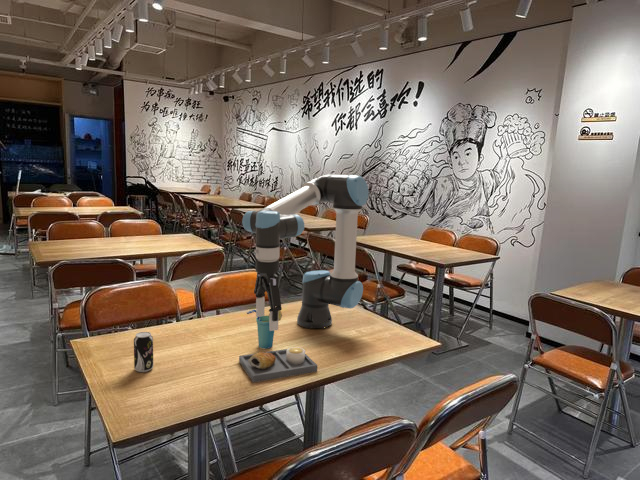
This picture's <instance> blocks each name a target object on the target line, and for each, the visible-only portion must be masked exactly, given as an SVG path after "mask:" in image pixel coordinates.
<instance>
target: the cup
mask: <svg viewBox="0 0 640 480" xmlns="http://www.w3.org/2000/svg"><path fill="white" fill-rule="evenodd" d="M252 313H256V308H255V309H252V310H249V311H246V314H247V315H250V314H252ZM269 316H270V312H269V313H268V315H264V316H260V317H256V318H255V320H256V324H257V326H256V327H257V338H258V339H257V340H258V341H257V342H258V348H259V349H262V350H263V349H264V350H265V349H267V350H269V349H270V348H273V346H274V345H273V343H274V335H275V330H273V331H270V330H269ZM282 317H283V313H282V310H279V315H278V322H280V321H281V320H282Z"/></svg>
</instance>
